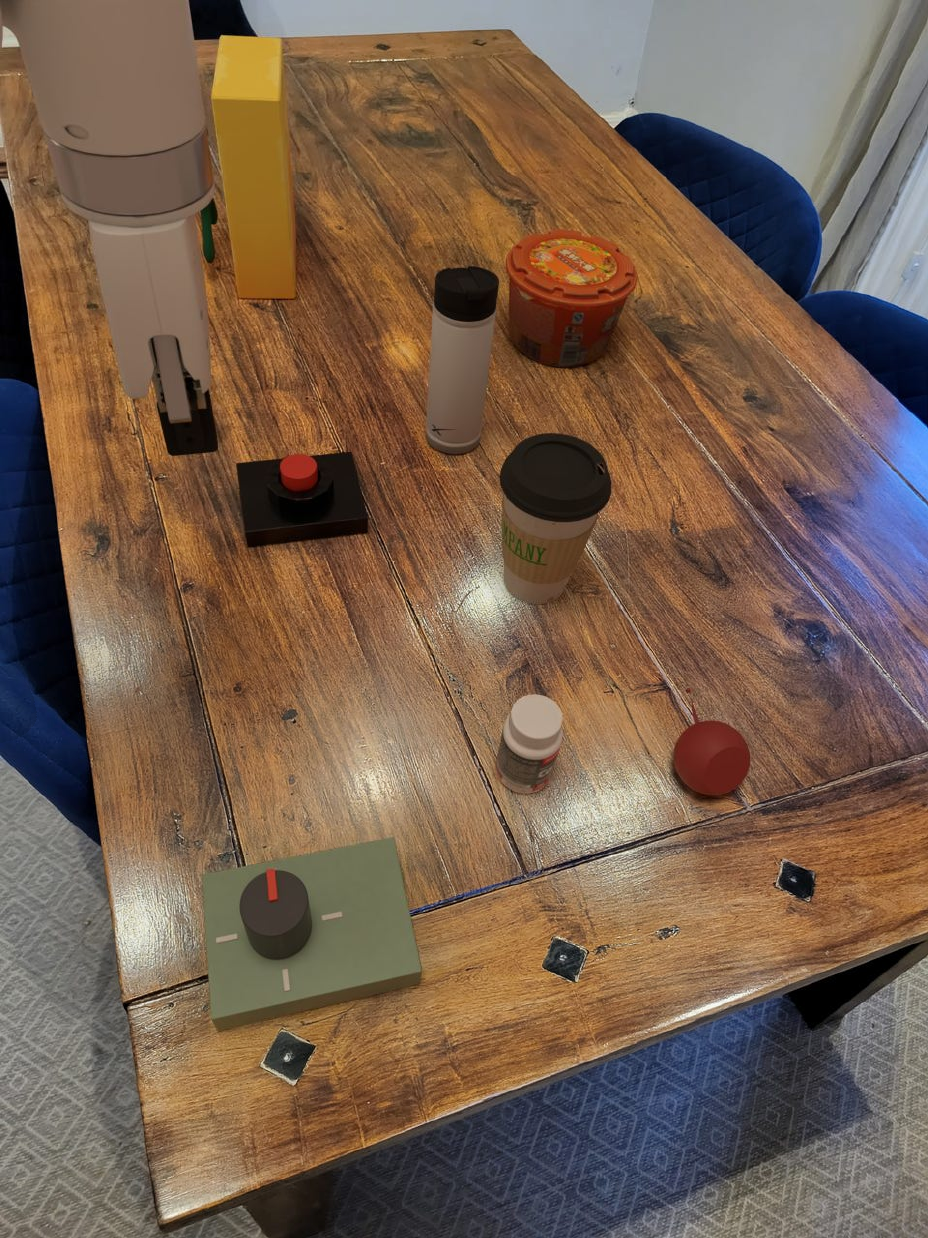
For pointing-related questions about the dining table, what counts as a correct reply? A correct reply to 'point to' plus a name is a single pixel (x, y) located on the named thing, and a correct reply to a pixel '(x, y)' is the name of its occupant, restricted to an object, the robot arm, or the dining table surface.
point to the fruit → (711, 756)
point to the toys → (254, 167)
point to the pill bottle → (529, 744)
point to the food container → (566, 296)
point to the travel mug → (460, 357)
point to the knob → (276, 914)
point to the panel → (313, 936)
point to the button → (299, 472)
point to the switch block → (301, 502)
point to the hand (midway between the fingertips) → (193, 445)
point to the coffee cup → (549, 512)
